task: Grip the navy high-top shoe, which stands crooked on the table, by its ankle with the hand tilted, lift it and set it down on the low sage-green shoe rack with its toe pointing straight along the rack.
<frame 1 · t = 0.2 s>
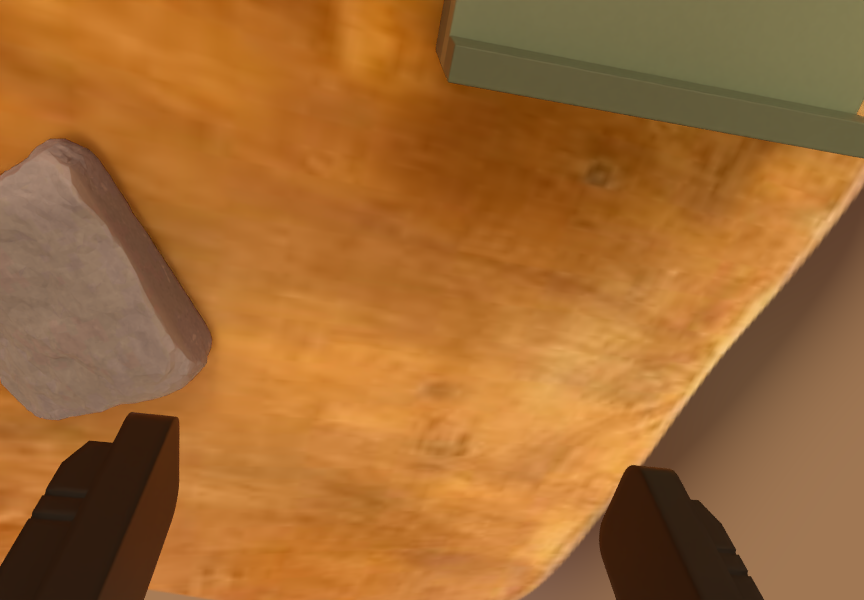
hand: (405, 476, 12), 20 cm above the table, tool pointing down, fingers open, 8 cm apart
stone block: (72, 277, 31), on the table
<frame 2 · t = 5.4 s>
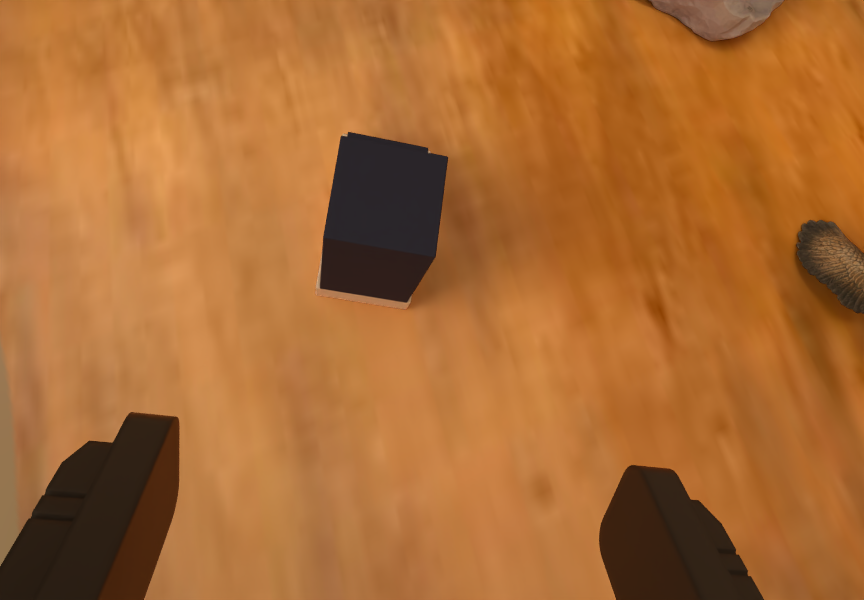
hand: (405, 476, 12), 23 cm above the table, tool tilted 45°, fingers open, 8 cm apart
high-top shoe: (373, 225, 37), on the table
eagle figurine: (852, 282, 42), on the table
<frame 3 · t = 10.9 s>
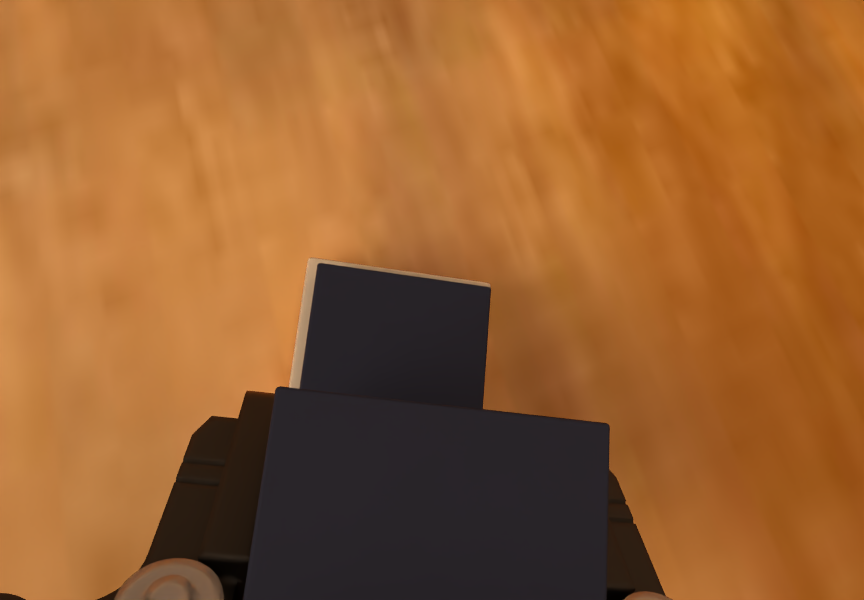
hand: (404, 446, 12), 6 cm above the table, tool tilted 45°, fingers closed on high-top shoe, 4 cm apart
high-top shoe: (377, 442, 18), on the table, touching gripper
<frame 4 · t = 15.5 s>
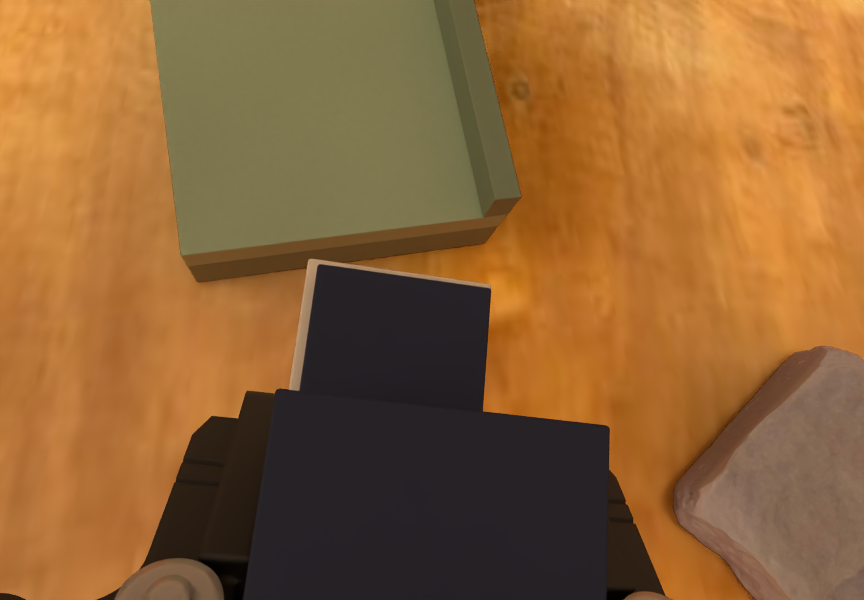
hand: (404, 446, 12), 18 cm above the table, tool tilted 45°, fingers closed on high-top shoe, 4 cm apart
high-top shoe: (377, 443, 18), point 12 cm above the table, touching gripper
stone block: (790, 491, 33), on the table
shoe rack: (321, 113, 33), on the table
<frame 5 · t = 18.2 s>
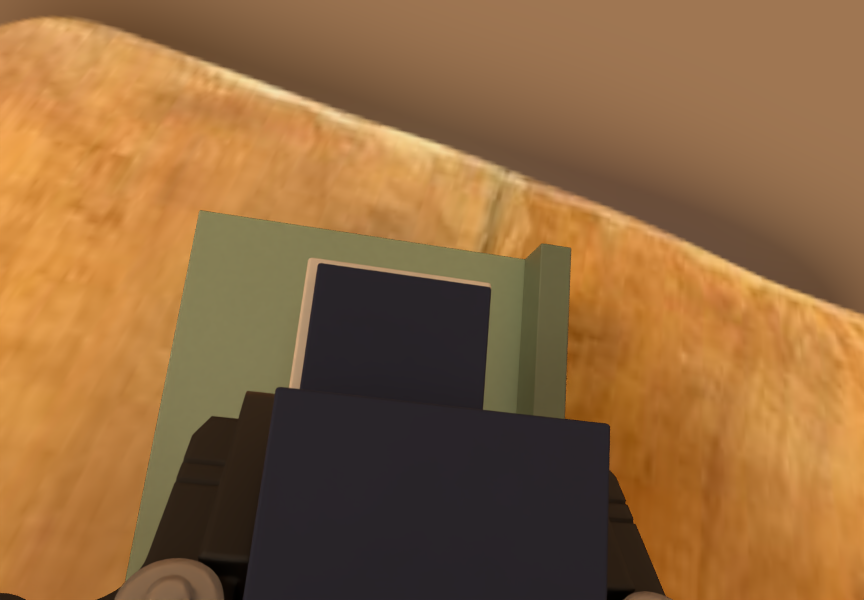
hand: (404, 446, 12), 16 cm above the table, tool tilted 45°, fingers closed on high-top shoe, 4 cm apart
high-top shoe: (377, 442, 18), point 10 cm above the table, touching gripper
shoe rack: (351, 448, 27), on the table
when the fingers open (10 cm above the table, at t = 20.3 s): high-top shoe stays where it is, resting on shoe rack.
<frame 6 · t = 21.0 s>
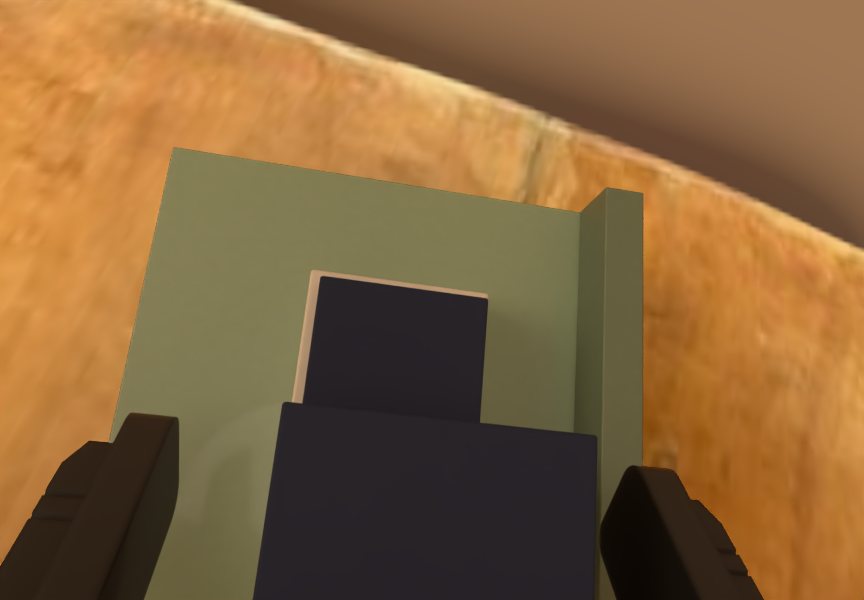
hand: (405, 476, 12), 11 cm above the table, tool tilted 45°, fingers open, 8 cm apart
high-top shoe: (378, 448, 18), point 4 cm above the table, touching shoe rack
shoe rack: (364, 448, 22), on the table
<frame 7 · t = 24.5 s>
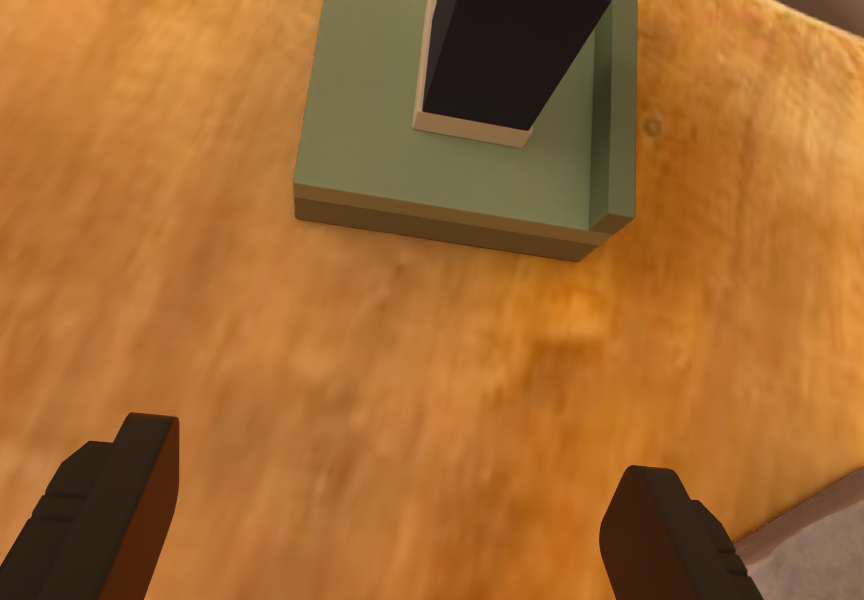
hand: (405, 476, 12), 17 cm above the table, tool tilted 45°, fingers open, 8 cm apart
high-top shoe: (475, 51, 30), point 4 cm above the table, touching shoe rack
shoe rack: (455, 96, 34), on the table
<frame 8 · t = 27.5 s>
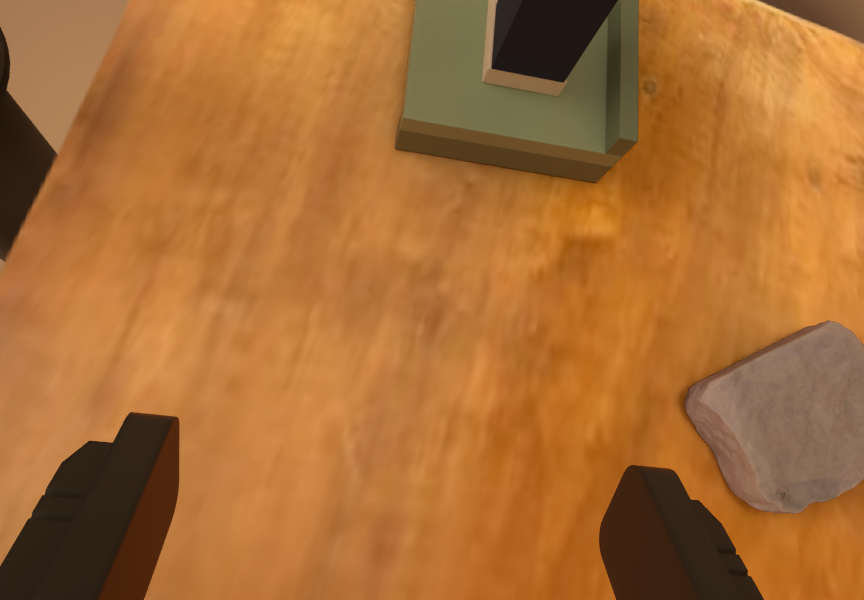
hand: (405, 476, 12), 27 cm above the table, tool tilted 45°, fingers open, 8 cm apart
high-top shoe: (523, 29, 42), point 4 cm above the table, touching shoe rack
stone block: (776, 424, 43), on the table
shoe rack: (504, 63, 46), on the table
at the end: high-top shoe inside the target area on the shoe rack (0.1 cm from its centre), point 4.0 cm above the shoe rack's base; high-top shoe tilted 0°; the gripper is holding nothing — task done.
